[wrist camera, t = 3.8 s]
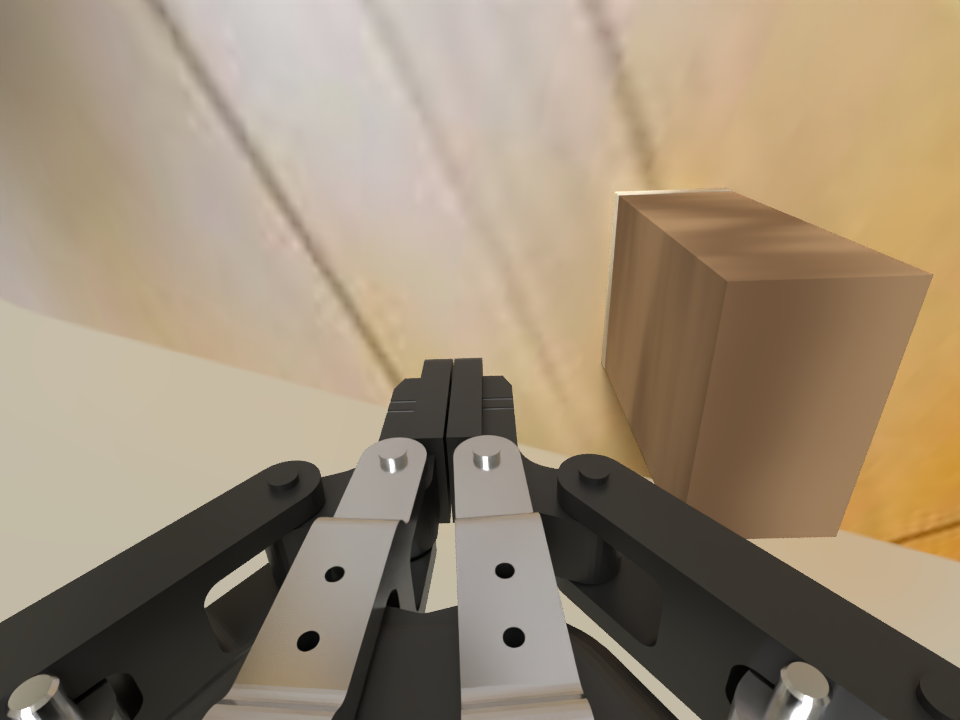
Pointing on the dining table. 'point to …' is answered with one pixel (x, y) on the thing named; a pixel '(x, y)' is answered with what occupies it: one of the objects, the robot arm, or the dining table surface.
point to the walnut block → (752, 354)
